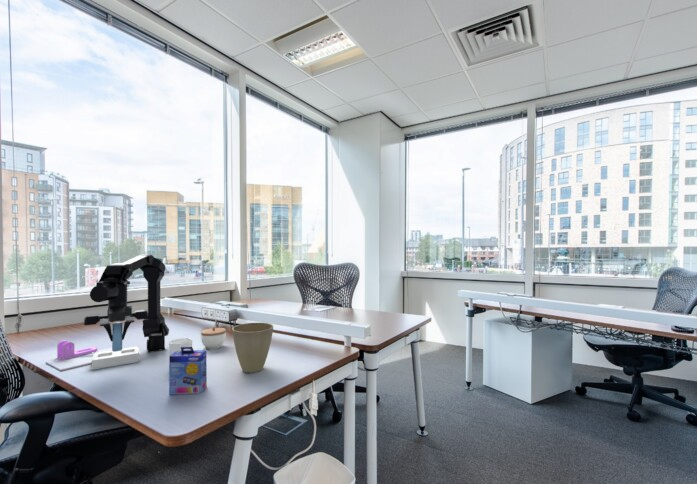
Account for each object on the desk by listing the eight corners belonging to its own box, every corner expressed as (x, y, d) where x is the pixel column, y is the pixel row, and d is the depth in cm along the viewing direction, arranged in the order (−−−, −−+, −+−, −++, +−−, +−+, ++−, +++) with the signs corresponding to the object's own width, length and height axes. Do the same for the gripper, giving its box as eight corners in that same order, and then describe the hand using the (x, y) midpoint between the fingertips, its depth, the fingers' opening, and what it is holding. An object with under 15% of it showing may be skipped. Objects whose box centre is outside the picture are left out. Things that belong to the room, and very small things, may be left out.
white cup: (196, 364, 126) (196, 339, 126) (180, 371, 119) (180, 344, 119) (181, 362, 129) (181, 337, 129) (164, 369, 121) (164, 342, 121)
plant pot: (235, 380, 111) (235, 334, 111) (229, 366, 124) (229, 325, 124) (278, 372, 117) (278, 328, 118) (268, 360, 131) (268, 320, 131)
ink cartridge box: (167, 395, 99) (168, 348, 100) (175, 388, 105) (176, 343, 105) (200, 394, 100) (201, 347, 101) (207, 386, 106) (207, 342, 106)
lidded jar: (227, 343, 155) (227, 323, 155) (224, 350, 144) (224, 329, 145) (203, 344, 153) (204, 325, 153) (198, 351, 142) (198, 330, 142)
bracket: (63, 360, 133) (63, 343, 133) (57, 358, 135) (57, 341, 135) (99, 351, 144) (99, 335, 144) (93, 349, 147) (93, 334, 147)
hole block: (138, 354, 139) (138, 346, 139) (139, 361, 130) (139, 352, 130) (94, 361, 130) (94, 352, 130) (91, 369, 121) (91, 360, 121)
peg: (122, 348, 120) (122, 321, 120) (122, 350, 118) (122, 323, 118) (112, 349, 118) (112, 322, 119) (112, 352, 116) (112, 324, 116)
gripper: (82, 303, 107) (82, 350, 106) (148, 298, 117) (148, 341, 117) (86, 299, 116) (85, 342, 115) (147, 294, 126) (146, 334, 126)
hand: (117, 340), depth 118 cm, fingers closed on peg, 3 cm apart
